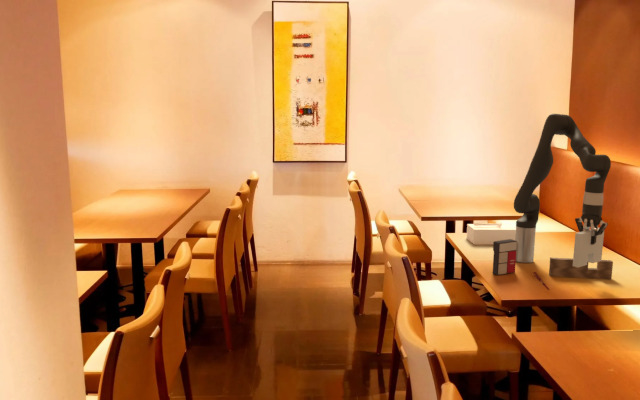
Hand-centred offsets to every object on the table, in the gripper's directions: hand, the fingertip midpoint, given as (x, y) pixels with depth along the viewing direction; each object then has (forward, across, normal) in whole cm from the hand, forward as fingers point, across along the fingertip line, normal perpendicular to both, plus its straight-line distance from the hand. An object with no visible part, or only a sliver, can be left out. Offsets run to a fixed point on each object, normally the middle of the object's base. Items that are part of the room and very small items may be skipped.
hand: (589, 243), depth 246 cm
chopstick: (+20, -16, -7) cm, 27 cm away
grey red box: (+20, -33, -11) cm, 40 cm away
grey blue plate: (+9, 0, 0) cm, 9 cm away
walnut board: (+19, -10, +13) cm, 25 cm away
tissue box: (+20, -76, +37) cm, 87 cm away
